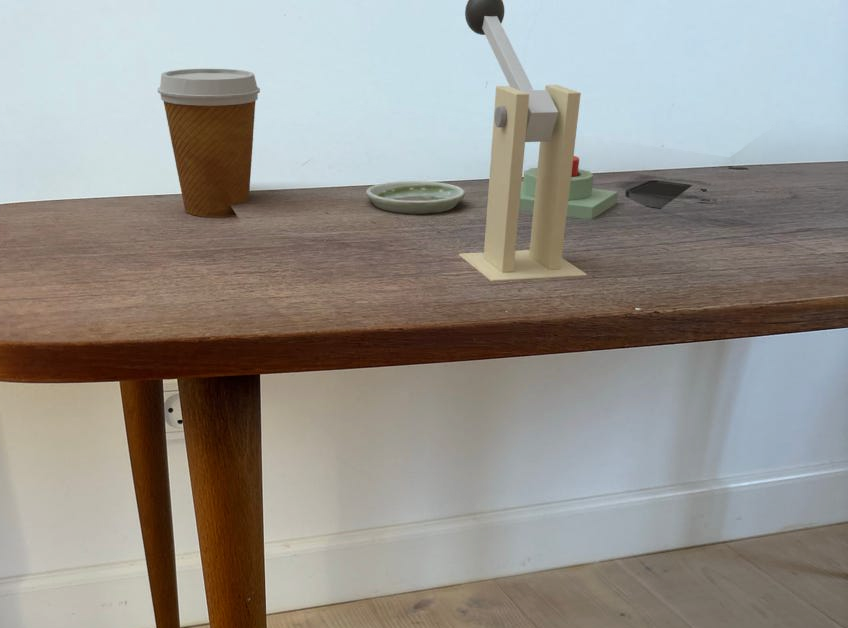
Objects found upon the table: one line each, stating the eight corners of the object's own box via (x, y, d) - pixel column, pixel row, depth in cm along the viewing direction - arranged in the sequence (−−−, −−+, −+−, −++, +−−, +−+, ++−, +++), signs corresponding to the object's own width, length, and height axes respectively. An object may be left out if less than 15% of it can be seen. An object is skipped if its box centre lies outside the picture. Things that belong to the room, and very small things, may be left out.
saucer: (407, 200, 109) (408, 175, 108) (483, 215, 104) (485, 189, 103) (345, 216, 103) (345, 189, 102) (422, 232, 98) (423, 205, 97)
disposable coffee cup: (282, 206, 106) (278, 72, 100) (229, 225, 99) (221, 82, 92) (204, 195, 110) (195, 65, 103) (148, 213, 103) (134, 75, 96)
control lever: (457, 21, 88) (464, -19, 85) (493, 21, 88) (502, -19, 86) (515, 147, 79) (525, 107, 77) (554, 146, 80) (566, 106, 77)
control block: (615, 214, 105) (621, 171, 103) (590, 231, 99) (596, 186, 97) (521, 203, 109) (525, 161, 107) (492, 218, 103) (495, 174, 101)
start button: (582, 175, 103) (584, 156, 102) (570, 182, 100) (572, 162, 99) (547, 171, 104) (549, 152, 103) (534, 178, 102) (536, 158, 101)
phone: (767, 211, 102) (622, 190, 109) (764, 223, 102) (620, 202, 109) (791, 197, 107) (651, 178, 114) (788, 209, 108) (650, 189, 115)
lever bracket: (458, 268, 88) (469, 83, 80) (547, 263, 90) (566, 81, 82) (490, 295, 82) (506, 97, 74) (585, 289, 83) (610, 95, 76)
